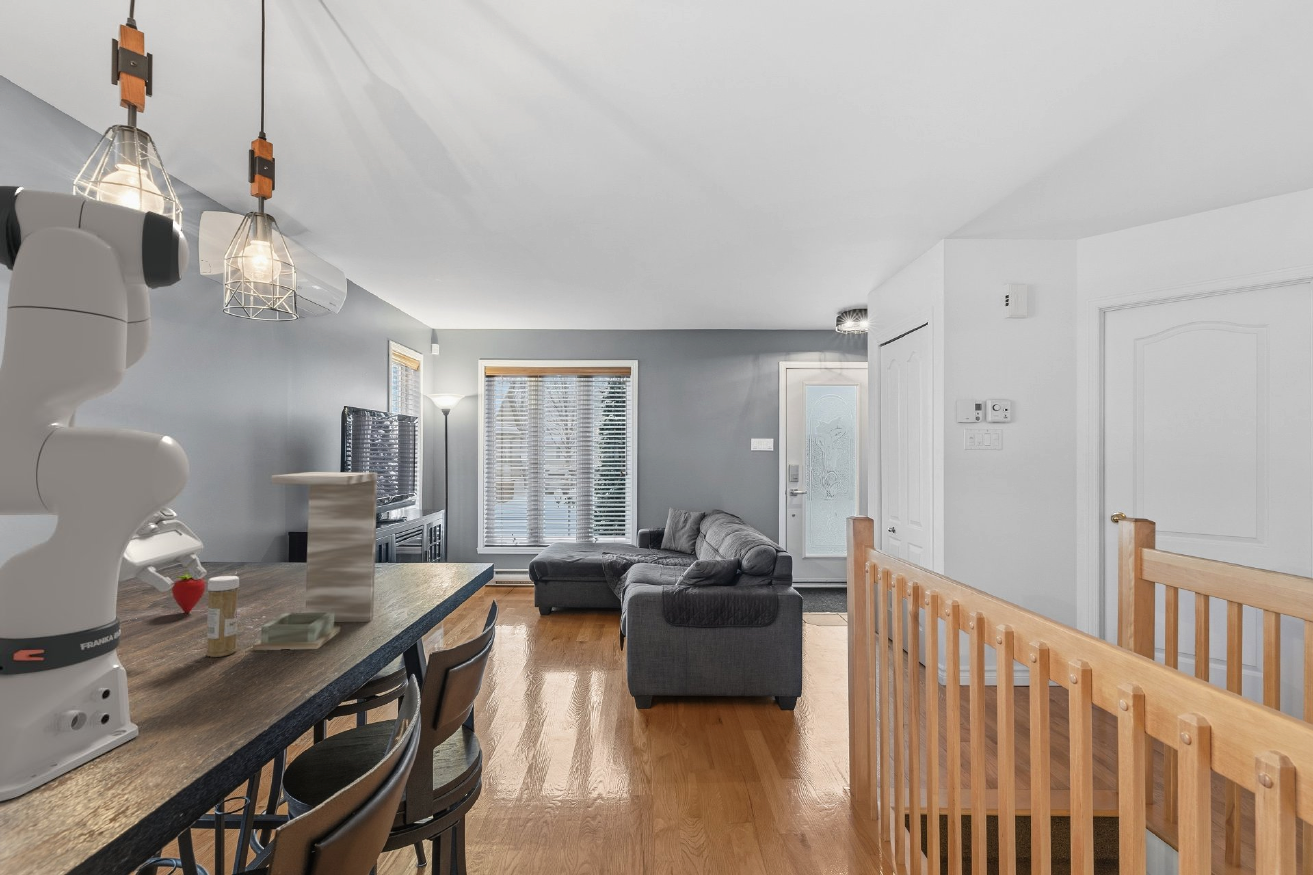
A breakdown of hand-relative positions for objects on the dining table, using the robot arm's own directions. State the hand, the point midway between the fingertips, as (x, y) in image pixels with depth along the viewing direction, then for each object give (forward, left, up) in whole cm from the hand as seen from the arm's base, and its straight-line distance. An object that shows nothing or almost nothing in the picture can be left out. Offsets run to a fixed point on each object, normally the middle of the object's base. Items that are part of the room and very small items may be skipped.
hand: (186, 582), depth 109 cm
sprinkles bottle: (0, -6, -13) cm, 14 cm away
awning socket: (+11, -18, -13) cm, 25 cm away
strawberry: (+29, +16, -13) cm, 35 cm away
